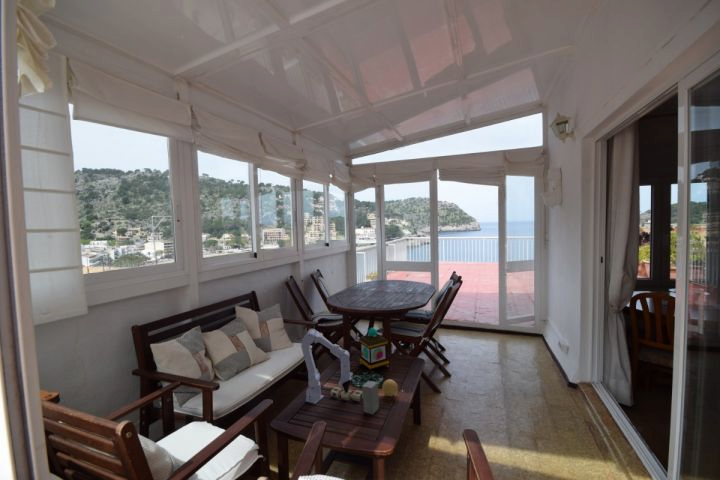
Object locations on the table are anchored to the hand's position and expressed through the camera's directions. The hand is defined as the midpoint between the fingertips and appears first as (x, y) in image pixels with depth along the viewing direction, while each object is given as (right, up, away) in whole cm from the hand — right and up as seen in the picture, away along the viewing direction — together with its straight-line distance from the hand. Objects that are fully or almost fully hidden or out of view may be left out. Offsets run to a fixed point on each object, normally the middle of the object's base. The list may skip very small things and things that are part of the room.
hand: (346, 391), depth 201 cm
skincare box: (+15, -5, -14) cm, 21 cm away
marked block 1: (-7, -4, +3) cm, 9 cm away
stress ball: (+28, -3, +1) cm, 28 cm away
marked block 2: (+7, -4, -1) cm, 8 cm away
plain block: (0, -4, 0) cm, 4 cm away
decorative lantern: (+20, -1, +42) cm, 46 cm away
